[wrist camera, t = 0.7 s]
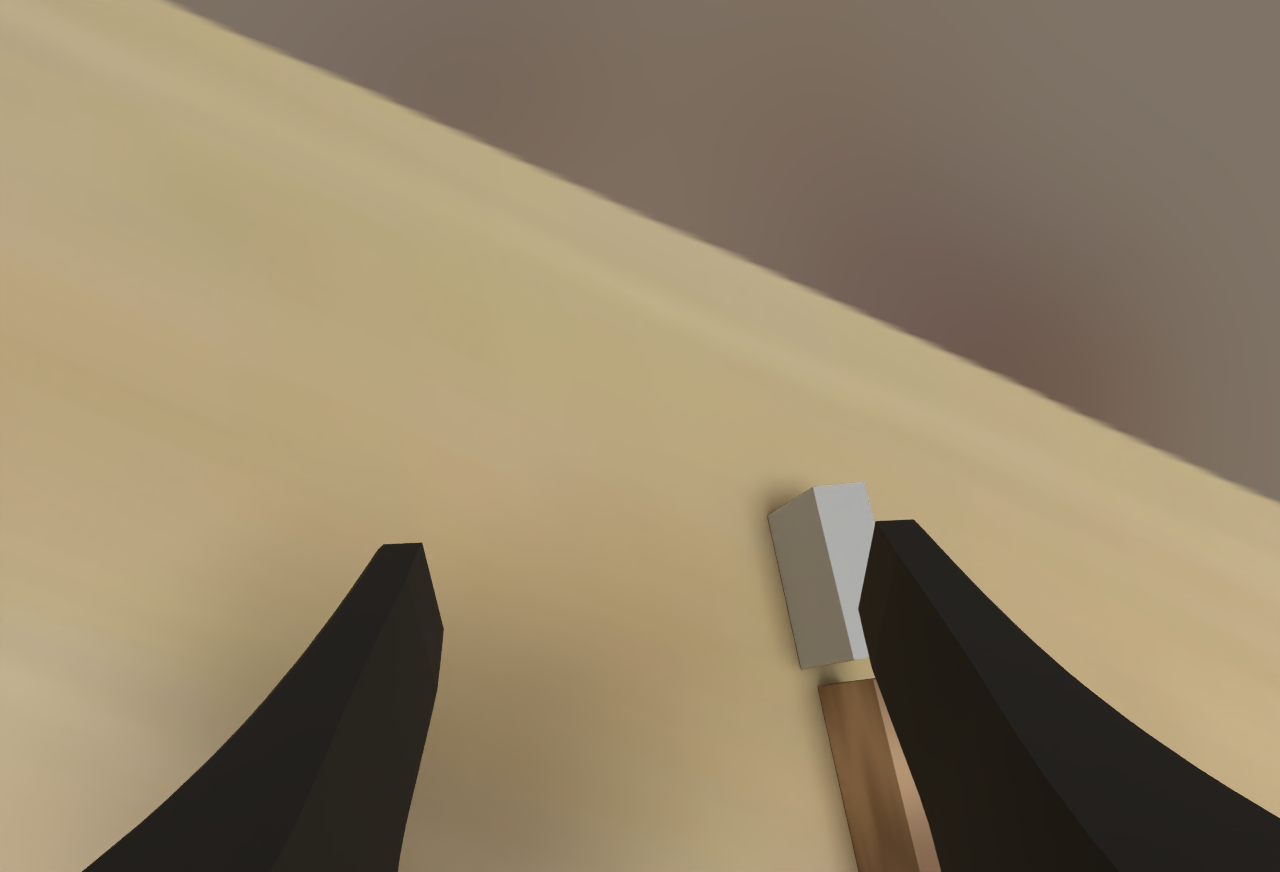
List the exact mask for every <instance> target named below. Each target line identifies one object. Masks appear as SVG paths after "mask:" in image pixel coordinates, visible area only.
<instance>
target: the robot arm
mask: <svg viewBox="0 0 1280 872" xmlns="http://www.w3.org/2000/svg"><path fill="white" fill-rule="evenodd" d="M858 611H859V615H860V620H861V624H862V629H863V633H864V638H865V642H866V646H867V650H868V654H869V658H870V662H871V666H872V669H873V672H874V675H875V678H876V681H877V683H878V686H879V689H880V692H881V694H882V697H883V700H884V703H885V705H886V708H887V711H888V714H889V716H890V719H891V722H892V724H893V727H894V730H895V732H896V735H897V738H898V740H899V743H900V746H901V748H902V751H903V754H904V756H905V759H906V762H907V764H908V767H909V770H910V772H911V775H912V778H913V780H914V783H915V786H916V788H917V791H918V794H919V796H920V799H921V803H922V806H923V809H924V812H925V815H926V818H927V821H928V824H929V827H930V831H931V835H932V839H933V842H934V846H935V850H936V854H937V857H938V861H939V865H940V869H941V872H1280V818H1278V817H1277V816H1275V815H1273V814H1272V813H1270V812H1268V811H1267V810H1265V809H1263V808H1262V807H1260V806H1258V805H1257V804H1255V803H1253V802H1252V801H1250V800H1248V799H1247V798H1245V797H1243V796H1242V795H1240V794H1238V793H1237V792H1235V791H1233V790H1232V789H1230V788H1229V787H1227V786H1225V785H1224V784H1222V783H1221V782H1219V781H1218V780H1216V779H1214V778H1213V777H1211V776H1210V775H1208V774H1207V773H1205V772H1203V771H1202V770H1200V769H1199V768H1197V767H1196V766H1194V765H1193V764H1191V763H1190V762H1188V761H1187V760H1185V759H1184V758H1182V757H1181V756H1180V755H1178V754H1177V753H1175V752H1174V751H1172V750H1171V749H1169V748H1168V747H1166V746H1165V745H1163V744H1162V743H1161V742H1159V741H1158V740H1156V739H1155V738H1153V737H1152V736H1150V735H1149V734H1147V733H1146V732H1145V731H1143V730H1142V729H1141V728H1139V727H1138V726H1136V725H1135V724H1134V723H1132V722H1131V721H1130V720H1128V719H1127V718H1125V717H1124V716H1123V715H1122V714H1120V713H1119V712H1118V711H1116V710H1115V709H1114V708H1113V707H1111V706H1110V705H1109V704H1107V703H1106V702H1105V701H1104V700H1102V699H1101V698H1100V697H1098V696H1097V695H1096V694H1095V693H1093V692H1092V691H1091V690H1089V689H1088V688H1087V687H1086V686H1084V685H1083V684H1082V683H1081V682H1079V681H1078V680H1077V679H1076V678H1075V677H1073V676H1072V675H1071V674H1070V673H1069V672H1067V671H1066V670H1065V669H1064V668H1063V667H1062V666H1060V665H1059V664H1058V663H1057V662H1056V661H1055V660H1054V659H1053V658H1051V657H1050V656H1049V655H1048V654H1047V653H1046V652H1045V651H1044V650H1042V649H1041V648H1040V647H1039V646H1038V645H1037V644H1036V643H1035V642H1034V641H1032V640H1031V639H1030V638H1029V637H1028V636H1027V635H1026V634H1025V633H1024V632H1023V631H1022V630H1021V629H1020V628H1019V627H1018V626H1017V625H1015V624H1014V623H1013V622H1012V621H1011V620H1010V619H1009V618H1008V617H1007V616H1006V615H1005V614H1004V613H1003V612H1002V611H1001V610H1000V609H999V608H998V607H997V606H996V605H995V604H994V603H993V602H992V601H991V600H990V599H989V598H988V597H987V596H986V595H985V594H984V593H983V592H982V591H981V590H980V589H979V588H978V587H977V586H976V585H975V584H974V583H973V582H972V581H971V580H970V579H969V577H968V576H967V575H966V574H965V573H964V572H963V571H962V570H961V569H960V568H959V567H958V566H957V565H956V564H955V563H954V562H953V561H952V560H951V558H950V557H949V556H948V555H947V554H946V553H945V552H944V551H943V550H942V549H941V548H940V547H939V546H938V545H937V544H936V542H935V541H934V540H933V539H932V538H931V537H930V536H929V535H928V534H927V533H926V532H925V531H924V530H923V529H922V528H921V526H920V525H919V524H918V523H917V522H916V521H915V520H893V521H876V522H875V527H874V532H873V537H872V542H871V547H870V552H869V557H868V562H867V567H866V572H865V577H864V582H863V587H862V592H861V597H860V602H859V607H858ZM443 631H444V629H443V625H442V621H441V617H440V613H439V609H438V604H437V600H436V596H435V592H434V588H433V584H432V580H431V576H430V572H429V568H428V564H427V560H426V556H425V552H424V548H423V544H422V543H404V544H383V545H382V546H381V547H380V548H379V549H378V550H377V552H376V553H375V555H374V556H373V558H372V559H371V561H370V562H369V564H368V565H367V567H366V568H365V570H364V571H363V572H362V574H361V575H360V577H359V578H358V580H357V581H356V583H355V584H354V586H353V587H352V588H351V590H350V591H349V593H348V594H347V595H346V597H345V598H344V600H343V601H342V602H341V604H340V605H339V607H338V608H337V609H336V611H335V612H334V614H333V615H332V616H331V618H330V619H329V620H328V622H327V623H326V624H325V626H324V627H323V628H322V629H321V631H320V632H319V633H318V635H317V636H316V637H315V639H314V640H313V641H312V643H311V644H310V645H309V647H308V648H307V649H306V651H305V652H304V653H303V654H302V656H301V657H300V658H299V659H298V661H297V662H296V663H295V664H294V666H293V667H292V668H291V669H290V670H289V671H288V673H287V674H286V675H285V676H284V677H283V679H282V680H281V681H280V682H279V683H278V685H277V686H276V687H275V688H274V689H273V691H272V692H271V693H270V694H269V695H268V697H267V698H266V699H265V700H264V701H263V702H262V704H261V705H260V706H259V707H258V708H257V709H256V710H255V711H254V713H253V714H252V715H251V716H250V717H249V718H248V719H247V720H246V721H245V722H244V724H243V725H242V726H241V727H240V728H239V729H238V730H237V731H236V732H235V733H234V734H233V735H232V736H231V737H230V738H229V739H228V740H227V742H226V743H225V744H224V745H223V746H222V747H221V748H220V749H219V750H218V751H217V752H216V753H215V754H214V755H213V756H212V757H211V758H210V759H209V760H208V761H207V762H206V763H205V764H204V765H203V766H202V767H201V768H200V769H199V770H198V771H196V772H195V773H194V774H193V775H192V776H191V777H190V778H189V779H188V780H187V781H186V782H185V783H184V784H183V785H182V786H181V787H180V788H179V789H178V790H177V791H175V792H174V793H173V794H172V795H171V796H170V797H169V798H168V799H167V800H166V801H165V802H164V803H163V804H161V805H160V806H159V807H158V808H157V809H156V810H155V811H154V812H153V813H151V814H150V815H149V816H148V817H147V818H146V819H145V820H144V821H142V822H141V823H140V824H139V825H138V826H137V827H135V828H134V829H133V830H132V831H131V832H129V833H128V834H127V835H126V836H124V837H123V838H122V839H121V840H120V841H118V842H117V843H116V844H115V845H114V846H112V847H111V848H110V849H109V850H108V851H106V852H105V853H104V854H103V855H102V856H100V857H99V858H98V859H97V860H96V861H94V862H93V863H92V864H91V865H90V866H88V867H87V868H86V869H85V870H83V871H82V872H398V866H399V859H400V852H401V847H402V842H403V837H404V832H405V826H406V822H407V818H408V813H409V809H410V805H411V800H412V796H413V792H414V788H415V783H416V779H417V775H418V771H419V766H420V762H421V758H422V754H423V749H424V745H425V741H426V737H427V732H428V728H429V724H430V719H431V715H432V711H433V706H434V702H435V697H436V693H437V687H438V678H439V670H440V661H441V651H442V641H443Z"/></svg>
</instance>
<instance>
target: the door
mask: <svg viewBox="0 0 1280 872" xmlns="http://www.w3.org/2000/svg"><path fill="white" fill-rule="evenodd" d="M818 690H819V694H820V699H821V703H822V708H823V712H824V717H825V721H826V726H827V730H828V734H829V739H830V743H831V748H832V752H833V757H834V761H835V766H836V770H837V775H838V779H839V784H840V788H841V793H842V797H843V802H844V806H845V811H846V815H847V820H848V824H849V828H850V833H851V837H852V842H853V846H854V851H855V855H856V860H857V864H858V869H859V872H941V869H940V865H939V861H938V857H937V854H936V850H935V846H934V842H933V839H932V835H931V831H930V827H929V824H928V821H927V818H926V815H925V812H924V809H923V806H922V803H921V799H920V796H919V794H918V791H917V788H916V786H915V783H914V780H913V778H912V775H911V772H910V770H909V767H908V764H907V762H906V759H905V756H904V754H903V751H902V748H901V746H900V743H899V740H898V738H897V735H896V732H895V730H894V727H893V724H892V722H891V719H890V716H889V714H888V711H887V708H886V705H885V703H884V700H883V697H882V694H881V692H880V689H879V686H878V683H877V681H876V678H872V679H865V680H857V681H849V682H842V683H836V684H831V685H825V686H820V687H818Z"/></svg>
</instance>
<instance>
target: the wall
mask: <svg viewBox="0 0 1280 872" xmlns="http://www.w3.org/2000/svg"><path fill="white" fill-rule="evenodd" d="M768 520H769V524H770V529H771V533H772V538H773V543H774V547H775V552H776V556H777V561H778V565H779V570H780V575H781V579H782V584H783V588H784V593H785V597H786V602H787V607H788V611H789V616H790V620H791V625H792V629H793V634H794V639H795V643H796V648H797V652H798V657H799V661H800V666H801V669H806V668H812V667H817V666H823V665H829V664H835V663H840V662H846V661H852V660H857V659H863V658H869V654H868V650H867V646H866V642H865V638H864V633H863V629H862V624H861V620H860V615H859V611H858V607H859V602H860V597H861V592H862V587H863V582H864V577H865V572H866V567H867V562H868V557H869V552H870V547H871V542H872V537H873V532H874V527H875V522H874V518H873V514H872V510H871V507H870V503H869V499H868V495H867V491H866V487H865V483H864V482H855V483H845V484H836V485H826V486H817V487H812V488H810V489H809V490H807V491H806V492H804V493H802V494H801V495H799V496H798V497H796V498H795V499H793V500H791V501H790V502H788V503H787V504H785V505H784V506H782V507H780V508H779V509H777V510H776V511H774V512H773V513H771V514H769V515H768Z"/></svg>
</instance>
